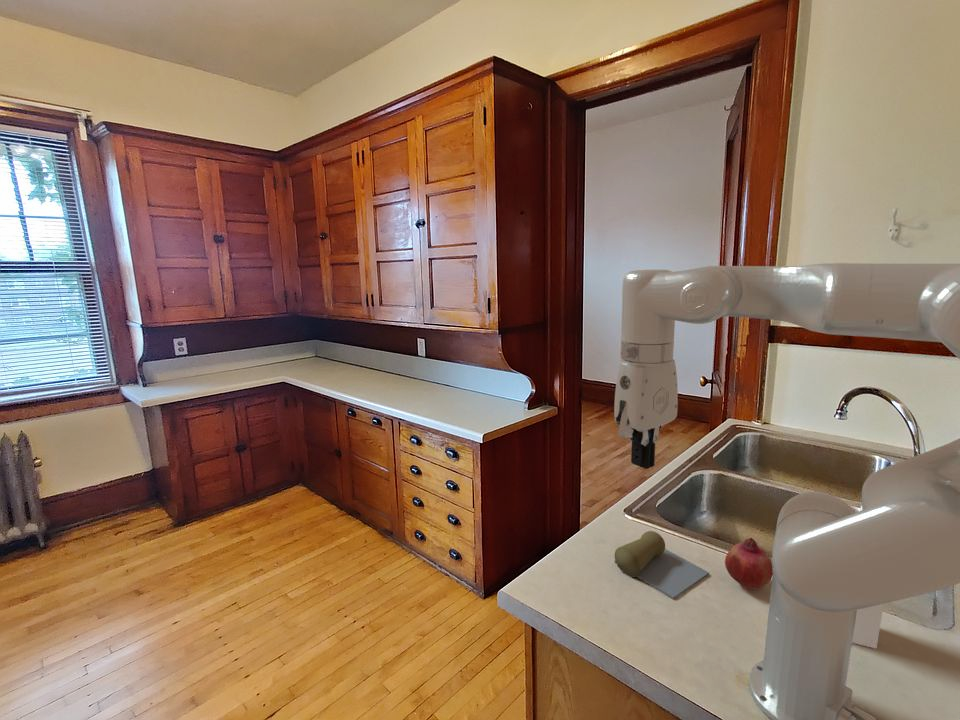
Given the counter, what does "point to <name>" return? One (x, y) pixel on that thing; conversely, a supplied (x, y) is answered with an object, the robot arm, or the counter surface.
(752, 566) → the fruit
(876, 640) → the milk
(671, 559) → the grey mat
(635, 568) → the olive brown rounded cylinder
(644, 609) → the counter surface
